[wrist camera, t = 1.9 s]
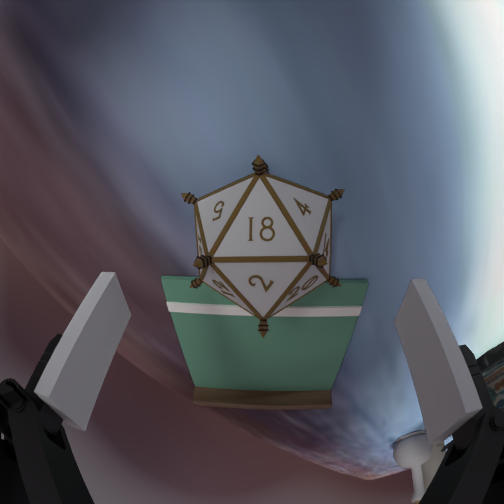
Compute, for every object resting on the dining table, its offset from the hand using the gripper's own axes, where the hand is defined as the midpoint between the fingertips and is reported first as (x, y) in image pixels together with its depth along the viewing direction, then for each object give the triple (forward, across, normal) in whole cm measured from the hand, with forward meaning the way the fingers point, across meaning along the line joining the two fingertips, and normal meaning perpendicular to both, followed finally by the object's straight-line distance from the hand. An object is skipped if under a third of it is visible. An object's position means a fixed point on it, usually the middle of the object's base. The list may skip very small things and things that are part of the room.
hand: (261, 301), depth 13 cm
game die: (+8, 0, +1) cm, 8 cm away
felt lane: (+8, 0, -14) cm, 16 cm away
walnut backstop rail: (+8, 0, -23) cm, 24 cm away
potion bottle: (+9, +32, -50) cm, 60 cm away
